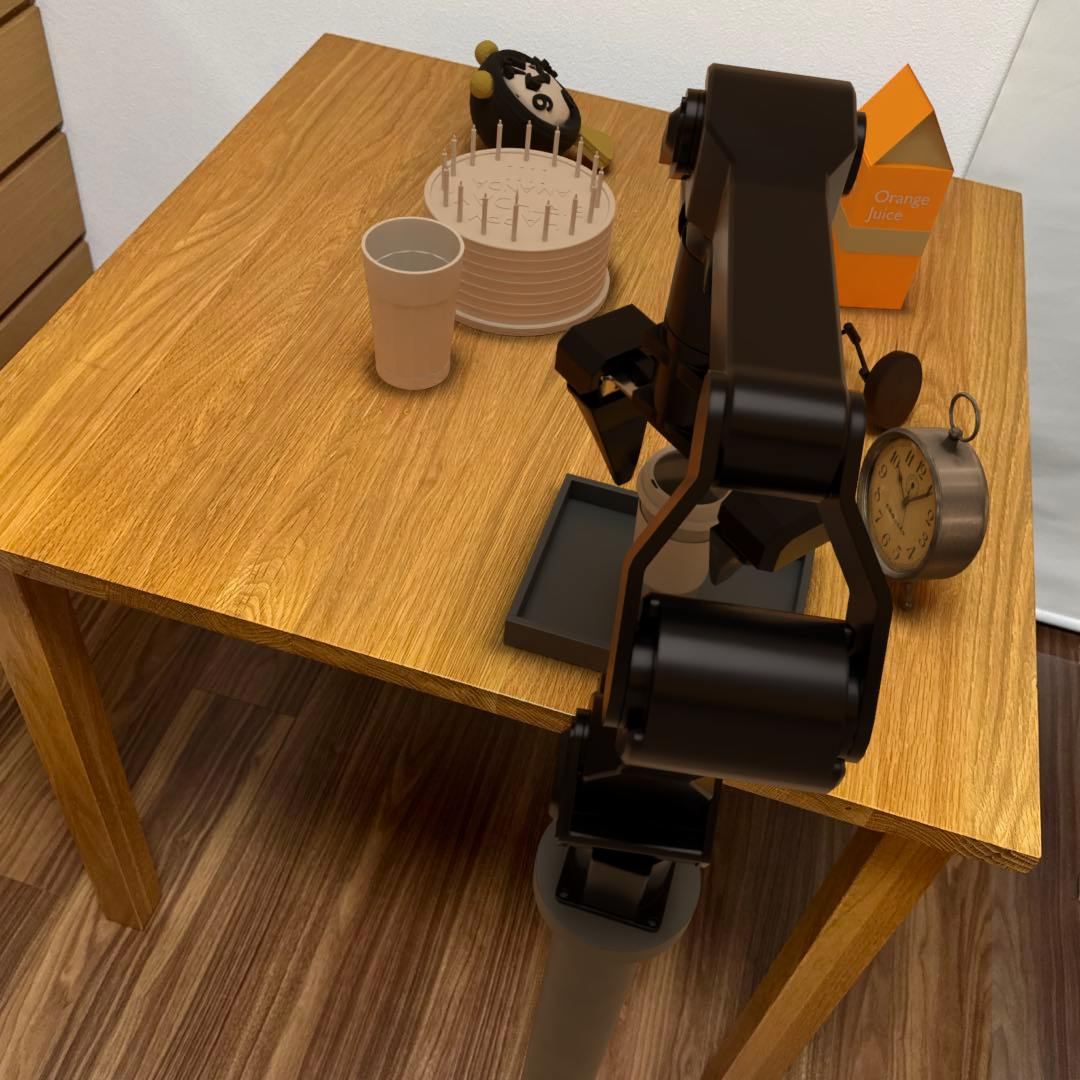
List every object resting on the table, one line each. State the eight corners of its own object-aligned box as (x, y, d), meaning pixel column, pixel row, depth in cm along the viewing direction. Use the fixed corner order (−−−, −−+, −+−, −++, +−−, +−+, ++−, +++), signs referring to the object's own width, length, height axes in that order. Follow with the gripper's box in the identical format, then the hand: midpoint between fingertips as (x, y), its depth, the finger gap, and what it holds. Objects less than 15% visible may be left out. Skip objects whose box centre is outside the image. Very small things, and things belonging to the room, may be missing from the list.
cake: (611, 236, 113) (629, 109, 103) (605, 346, 100) (626, 213, 91) (432, 216, 112) (434, 87, 103) (404, 323, 100) (404, 188, 90)
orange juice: (823, 305, 108) (888, 105, 93) (805, 253, 113) (864, 57, 99) (902, 310, 108) (980, 111, 94) (880, 257, 114) (950, 63, 100)
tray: (778, 724, 74) (788, 702, 72) (502, 643, 77) (505, 619, 75) (808, 563, 84) (817, 539, 83) (563, 496, 87) (566, 472, 85)
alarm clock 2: (836, 514, 88) (903, 348, 76) (900, 509, 89) (975, 345, 77) (890, 623, 81) (973, 459, 69) (958, 616, 82) (1051, 453, 70)
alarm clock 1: (558, 228, 120) (520, 122, 107) (470, 172, 127) (423, 67, 114) (633, 155, 121) (604, 42, 108) (542, 104, 128) (504, -8, 115)
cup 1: (353, 347, 97) (347, 225, 88) (439, 329, 100) (442, 209, 91) (384, 405, 93) (381, 281, 84) (474, 384, 95) (480, 263, 86)
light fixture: (799, 326, 108) (721, 208, 96) (942, 364, 97) (875, 236, 85) (742, 411, 107) (656, 303, 95) (880, 460, 96) (803, 344, 84)
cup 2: (598, 570, 81) (621, 448, 73) (680, 550, 83) (713, 429, 75) (639, 645, 77) (668, 525, 68) (725, 623, 79) (764, 503, 70)
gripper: (972, 377, 55) (873, 579, 66) (720, 188, 64) (673, 394, 76) (807, 459, 50) (733, 661, 62) (562, 242, 59) (538, 453, 71)
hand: (669, 530), depth 68 cm, fingers open, 9 cm apart
